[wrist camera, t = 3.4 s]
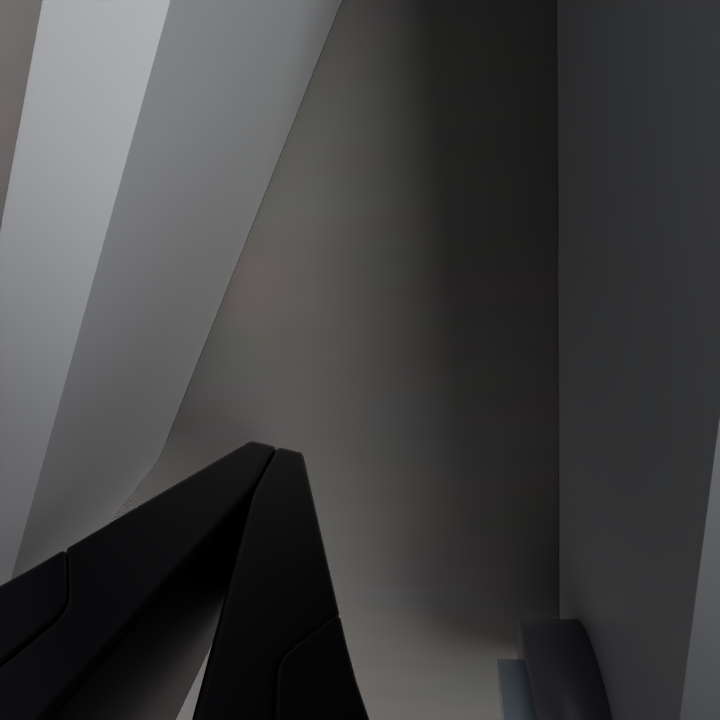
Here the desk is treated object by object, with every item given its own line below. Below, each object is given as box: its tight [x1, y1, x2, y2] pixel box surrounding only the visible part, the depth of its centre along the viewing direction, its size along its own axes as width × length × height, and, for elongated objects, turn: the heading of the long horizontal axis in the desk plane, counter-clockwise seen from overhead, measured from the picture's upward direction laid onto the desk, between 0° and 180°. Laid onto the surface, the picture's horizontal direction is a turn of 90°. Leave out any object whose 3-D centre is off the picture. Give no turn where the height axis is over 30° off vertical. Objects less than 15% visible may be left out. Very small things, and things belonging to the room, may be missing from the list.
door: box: [0, 0, 342, 586], centre depth 6 cm, size 14×1×5 cm, turn 154°
